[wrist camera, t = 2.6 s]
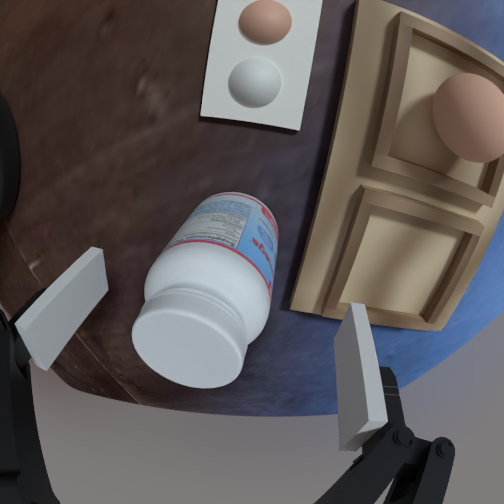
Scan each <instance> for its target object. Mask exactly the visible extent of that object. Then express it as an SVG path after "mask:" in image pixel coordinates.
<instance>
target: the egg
mask: <svg viewBox="0 0 504 504" xmlns="http://www.w3.org/2000/svg"><path fill="white" fill-rule="evenodd" d="M432 113H433V120H434V124H435V127H436V130H437V132H438V134H439V136H440V138H441V139H442V141H443V142H444V144H445V145H446V146H447V147H448V148H449V149H450V150H451V151H452V152H453V153H455V154H456V155H457V156H459V157H461V158H463V159H465V160H468V161H470V162H476V163H485V162H490V161H493V160H495V159H497V158H499V157H500V156H501V155H502V154H503V153H504V94H503V93H502V92H501V91H500V89H499V88H498V87H497V86H496V85H494V84H493V83H492V82H491V81H489V80H488V79H486V78H484V77H482V76H479V75H476V74H471V73H460V74H456V75H453V76H451V77H449V78H447V79H446V80H445V81H444V82H443V83H442V84H441V85H440V86H439V87H438V89H437V91H436V93H435V96H434V100H433V106H432Z"/></svg>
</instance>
